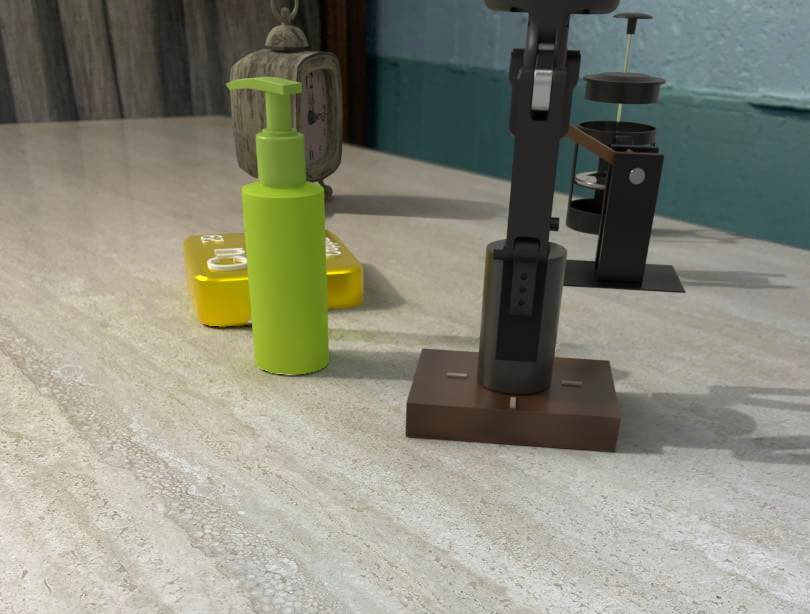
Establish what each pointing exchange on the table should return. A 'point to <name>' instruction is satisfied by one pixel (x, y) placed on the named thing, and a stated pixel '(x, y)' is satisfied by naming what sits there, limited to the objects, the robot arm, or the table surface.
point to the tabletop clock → (292, 100)
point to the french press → (611, 130)
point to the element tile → (229, 286)
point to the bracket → (626, 228)
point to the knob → (539, 375)
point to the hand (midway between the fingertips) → (518, 342)
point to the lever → (591, 144)
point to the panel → (513, 405)
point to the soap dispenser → (285, 242)
